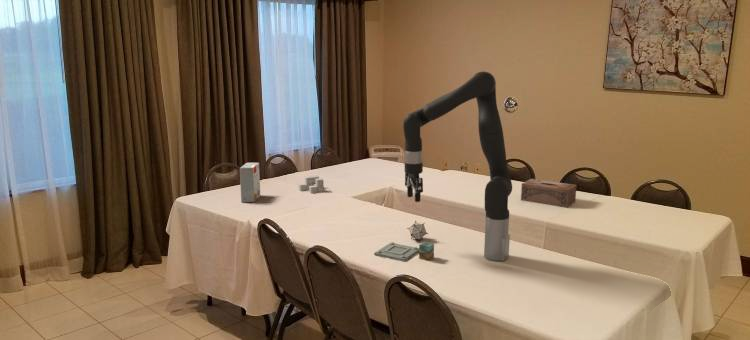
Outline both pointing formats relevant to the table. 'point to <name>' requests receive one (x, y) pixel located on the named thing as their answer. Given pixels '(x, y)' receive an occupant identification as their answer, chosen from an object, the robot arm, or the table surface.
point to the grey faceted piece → (417, 230)
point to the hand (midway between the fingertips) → (413, 199)
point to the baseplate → (397, 251)
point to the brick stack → (426, 251)
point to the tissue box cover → (548, 193)
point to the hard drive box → (250, 182)
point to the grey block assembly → (312, 184)
